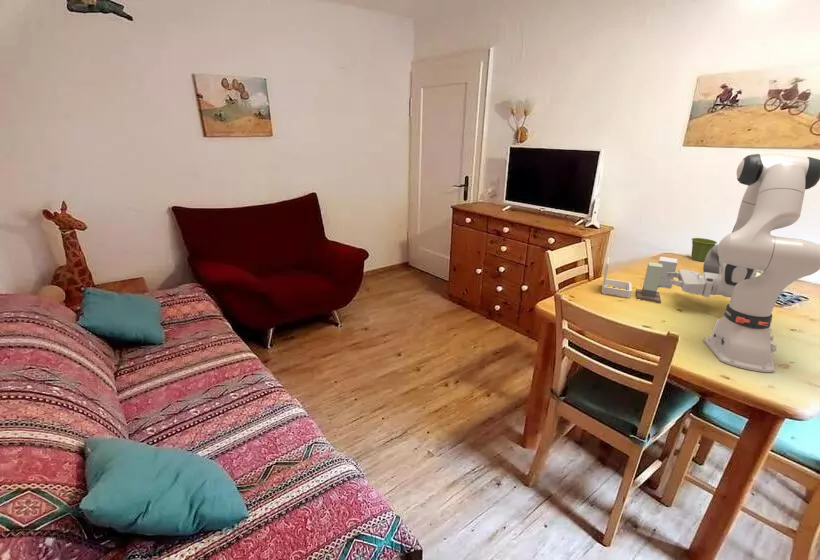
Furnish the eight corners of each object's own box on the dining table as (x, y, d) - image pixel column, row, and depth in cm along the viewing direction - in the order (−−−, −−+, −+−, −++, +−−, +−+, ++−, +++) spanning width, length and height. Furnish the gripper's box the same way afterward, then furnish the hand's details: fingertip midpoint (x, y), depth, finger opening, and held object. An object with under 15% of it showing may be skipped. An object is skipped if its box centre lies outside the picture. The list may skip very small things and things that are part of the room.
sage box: (655, 297, 176) (662, 267, 171) (642, 295, 178) (649, 265, 173) (654, 293, 181) (661, 263, 176) (641, 291, 183) (648, 262, 178)
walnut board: (660, 303, 173) (661, 301, 173) (636, 299, 177) (637, 297, 177) (658, 294, 183) (659, 292, 182) (635, 290, 186) (636, 288, 186)
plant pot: (712, 264, 223) (718, 244, 219) (686, 260, 228) (692, 241, 224) (710, 258, 232) (716, 239, 228) (686, 255, 238) (691, 236, 234)
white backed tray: (630, 298, 178) (637, 268, 173) (601, 293, 182) (607, 264, 177) (629, 289, 188) (636, 260, 183) (602, 285, 192) (607, 256, 187)
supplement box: (671, 283, 195) (678, 258, 190) (671, 288, 189) (677, 262, 185) (653, 280, 199) (659, 256, 194) (652, 285, 193) (659, 260, 188)
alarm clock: (716, 286, 193) (729, 241, 185) (696, 280, 200) (709, 236, 192) (733, 280, 201) (747, 236, 193) (714, 274, 208) (726, 232, 200)
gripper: (704, 268, 176) (667, 263, 182) (713, 284, 159) (672, 278, 164) (700, 282, 178) (663, 276, 184) (708, 298, 161) (668, 292, 167)
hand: (667, 277), depth 174 cm, fingers open, 8 cm apart
